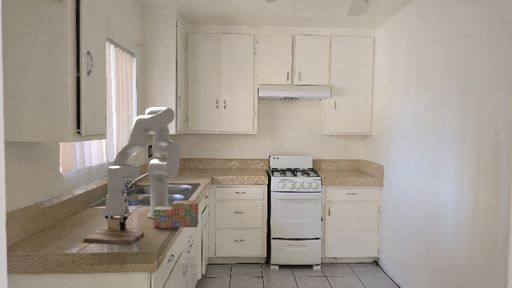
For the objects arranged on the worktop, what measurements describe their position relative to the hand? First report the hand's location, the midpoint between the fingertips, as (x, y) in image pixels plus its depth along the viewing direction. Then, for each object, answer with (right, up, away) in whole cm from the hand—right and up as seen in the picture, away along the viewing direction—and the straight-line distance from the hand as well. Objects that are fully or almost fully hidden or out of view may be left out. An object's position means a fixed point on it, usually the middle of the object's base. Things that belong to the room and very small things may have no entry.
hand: (117, 229), depth 166 cm
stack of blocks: (+27, -1, +8) cm, 28 cm away
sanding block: (0, -1, 0) cm, 1 cm away
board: (+3, -1, -11) cm, 12 cm away
